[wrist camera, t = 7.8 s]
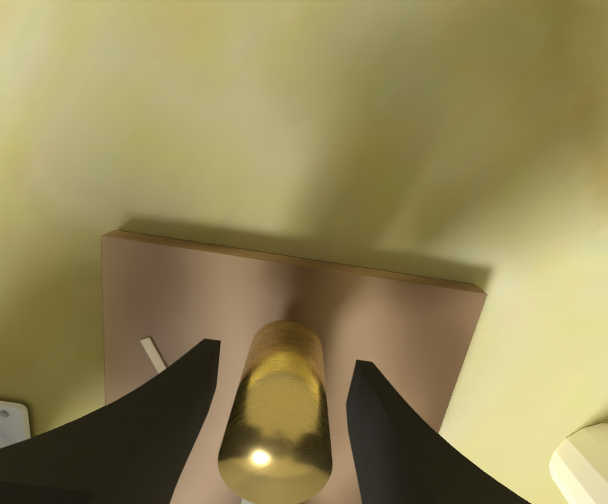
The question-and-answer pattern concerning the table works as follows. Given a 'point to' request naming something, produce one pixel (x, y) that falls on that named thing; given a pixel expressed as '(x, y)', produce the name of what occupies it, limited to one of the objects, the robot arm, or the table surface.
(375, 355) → the bench base
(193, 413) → the robot arm
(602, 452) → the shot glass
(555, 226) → the table surface
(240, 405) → the lever
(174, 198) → the table surface
